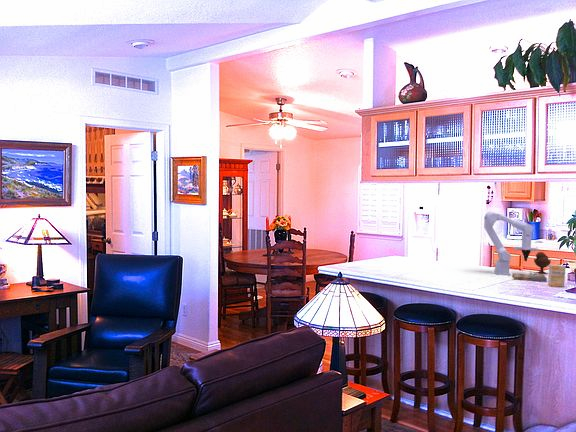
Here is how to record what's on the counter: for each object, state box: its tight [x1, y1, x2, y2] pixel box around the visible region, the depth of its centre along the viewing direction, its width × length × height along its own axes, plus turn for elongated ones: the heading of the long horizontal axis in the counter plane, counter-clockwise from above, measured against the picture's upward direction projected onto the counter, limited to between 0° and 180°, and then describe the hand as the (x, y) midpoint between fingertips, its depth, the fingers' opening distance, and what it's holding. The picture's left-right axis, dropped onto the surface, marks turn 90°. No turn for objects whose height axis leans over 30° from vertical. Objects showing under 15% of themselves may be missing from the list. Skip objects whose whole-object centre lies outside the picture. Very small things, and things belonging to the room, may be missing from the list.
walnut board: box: [511, 273, 532, 282], centre depth 373 cm, size 10×14×2 cm
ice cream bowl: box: [533, 251, 551, 275], centre depth 396 cm, size 11×11×15 cm
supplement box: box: [547, 264, 566, 288], centre depth 348 cm, size 8×5×13 cm, turn 82°
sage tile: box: [527, 271, 536, 277], centre depth 371 cm, size 4×4×2 cm
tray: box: [530, 273, 548, 283], centre depth 371 cm, size 9×15×2 cm, turn 163°
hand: (525, 261), depth 389 cm, fingers closed
